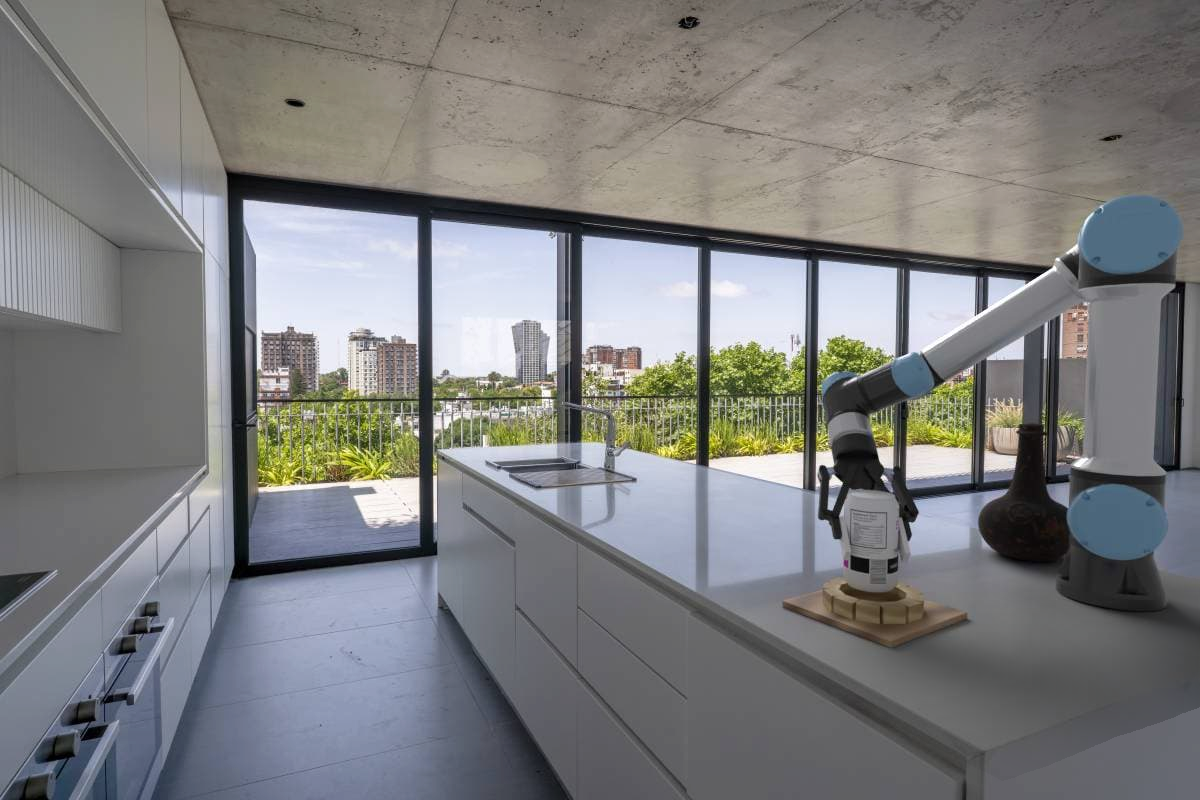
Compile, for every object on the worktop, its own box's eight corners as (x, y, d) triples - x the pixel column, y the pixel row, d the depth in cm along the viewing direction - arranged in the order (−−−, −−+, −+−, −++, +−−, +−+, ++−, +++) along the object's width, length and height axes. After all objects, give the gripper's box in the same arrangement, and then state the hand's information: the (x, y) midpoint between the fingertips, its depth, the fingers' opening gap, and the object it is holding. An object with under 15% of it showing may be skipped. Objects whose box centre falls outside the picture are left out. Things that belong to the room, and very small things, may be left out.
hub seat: (967, 618, 105) (967, 596, 105) (890, 647, 94) (890, 623, 94) (858, 584, 122) (858, 566, 122) (782, 606, 111) (782, 585, 111)
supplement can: (832, 579, 111) (834, 491, 110) (874, 575, 113) (875, 488, 112) (865, 596, 103) (867, 500, 102) (909, 590, 105) (910, 497, 105)
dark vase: (966, 556, 139) (968, 424, 138) (992, 540, 152) (993, 419, 151) (1068, 574, 126) (1071, 428, 125) (1087, 555, 139) (1090, 422, 138)
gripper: (908, 457, 121) (940, 570, 106) (790, 456, 124) (804, 566, 109) (919, 431, 115) (954, 546, 100) (795, 430, 118) (810, 542, 103)
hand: (876, 556), depth 104 cm, fingers closed on supplement can, 8 cm apart
